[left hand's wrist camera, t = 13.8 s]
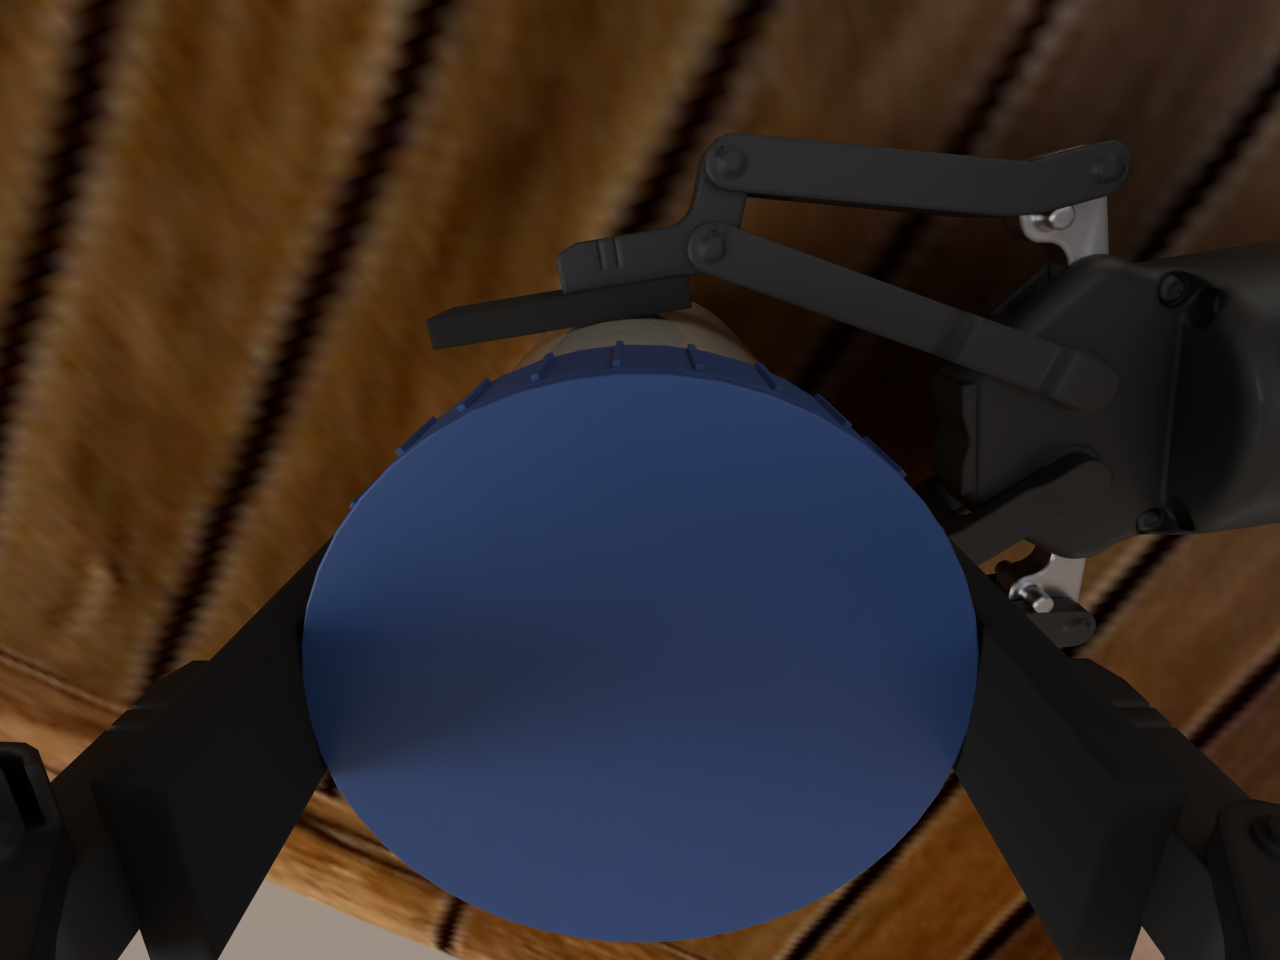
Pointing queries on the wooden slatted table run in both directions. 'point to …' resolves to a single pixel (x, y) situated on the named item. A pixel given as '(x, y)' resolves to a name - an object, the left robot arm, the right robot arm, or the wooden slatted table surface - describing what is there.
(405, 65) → the wooden slatted table surface
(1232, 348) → the right robot arm
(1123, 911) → the left robot arm
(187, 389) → the wooden slatted table surface
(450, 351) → the wooden slatted table surface
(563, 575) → the lid
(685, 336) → the jar
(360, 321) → the wooden slatted table surface
